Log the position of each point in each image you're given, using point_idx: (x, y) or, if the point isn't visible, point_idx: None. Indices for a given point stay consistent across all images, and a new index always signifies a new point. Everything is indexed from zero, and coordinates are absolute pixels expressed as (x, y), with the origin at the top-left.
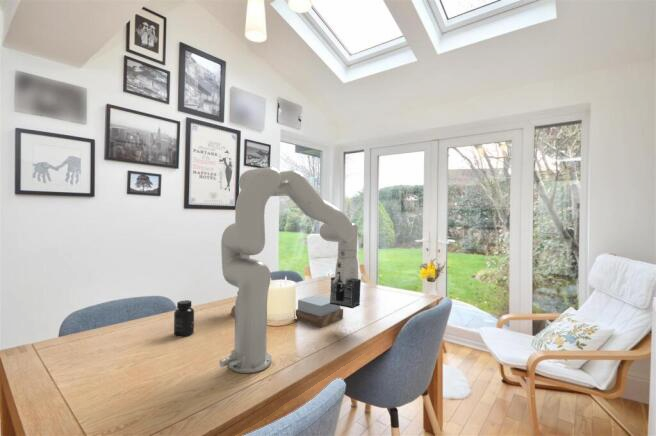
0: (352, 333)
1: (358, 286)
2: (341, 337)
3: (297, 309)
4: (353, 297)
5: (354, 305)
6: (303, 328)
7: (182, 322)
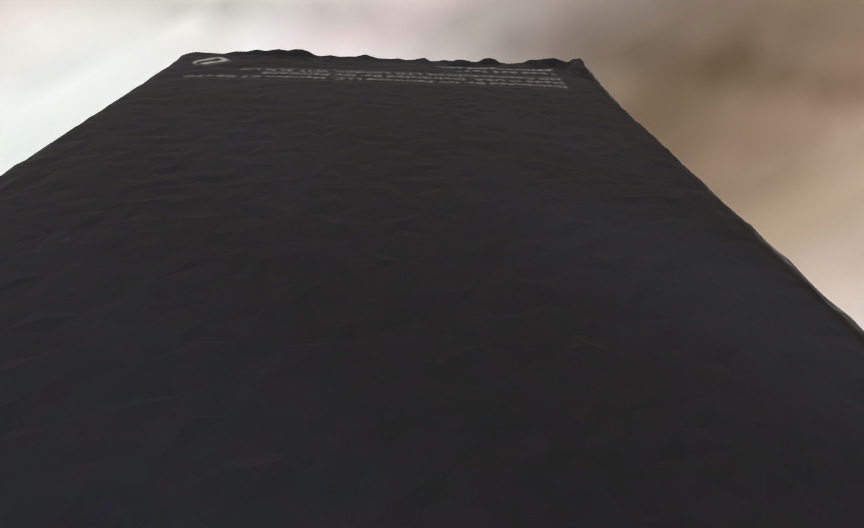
0: (427, 20)
1: (127, 331)
2: (623, 82)
3: None
4: (655, 146)
5: (506, 73)
6: None
7: None
